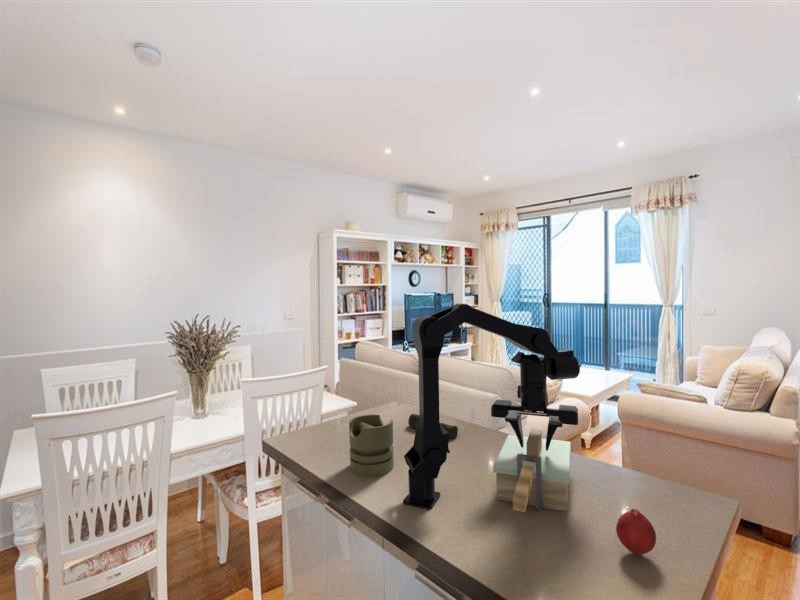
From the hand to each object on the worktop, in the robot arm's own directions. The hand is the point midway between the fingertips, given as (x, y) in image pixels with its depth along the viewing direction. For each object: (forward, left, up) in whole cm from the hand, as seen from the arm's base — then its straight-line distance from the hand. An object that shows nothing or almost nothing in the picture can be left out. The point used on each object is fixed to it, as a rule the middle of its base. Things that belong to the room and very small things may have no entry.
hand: (534, 448), depth 93 cm
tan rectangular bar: (-20, 0, -1) cm, 20 cm away
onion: (-20, -18, -8) cm, 28 cm away
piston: (-5, +40, -9) cm, 41 cm away
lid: (0, 0, -3) cm, 3 cm away
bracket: (-11, 0, -8) cm, 14 cm away
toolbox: (0, 0, -8) cm, 8 cm away
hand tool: (+25, +34, -9) cm, 43 cm away
